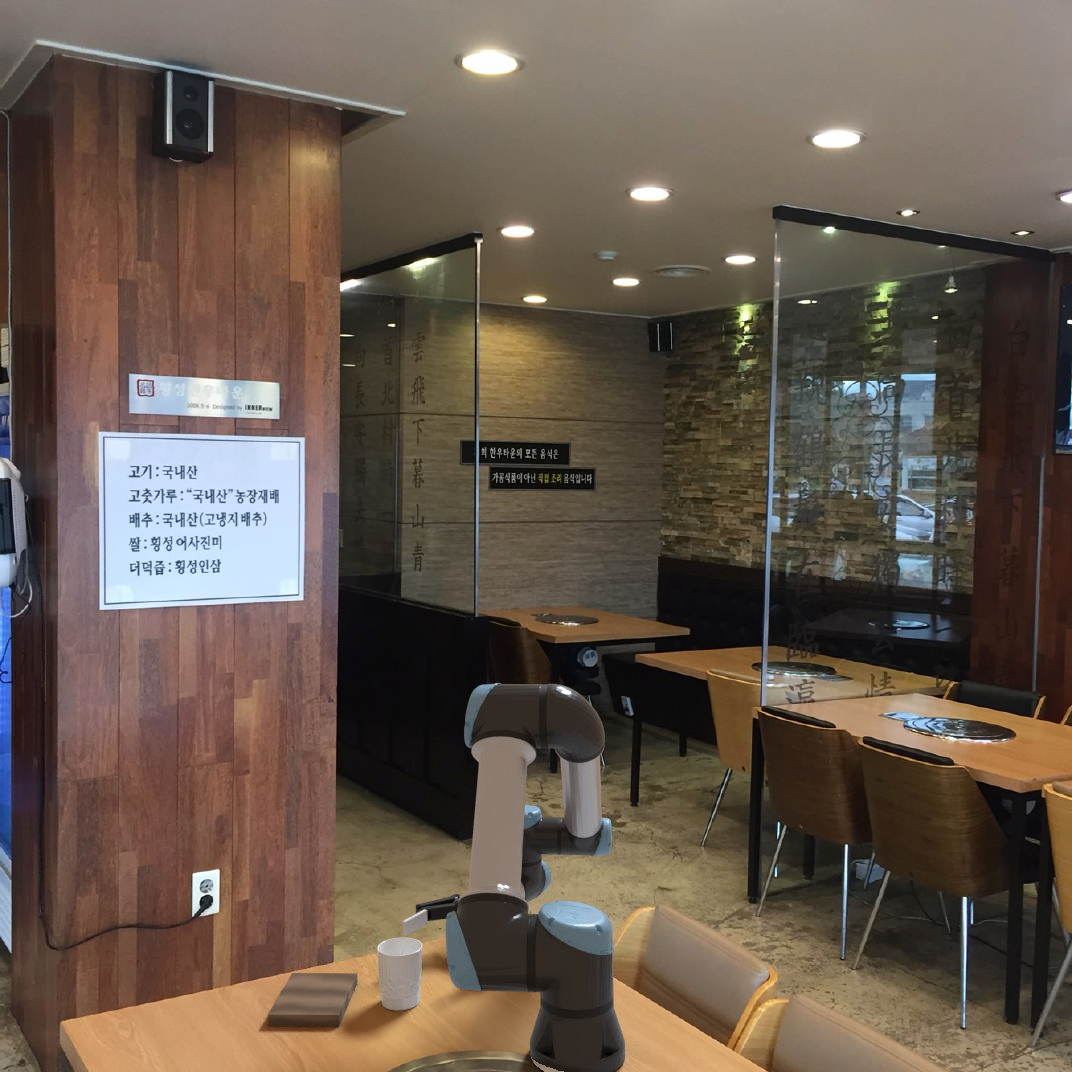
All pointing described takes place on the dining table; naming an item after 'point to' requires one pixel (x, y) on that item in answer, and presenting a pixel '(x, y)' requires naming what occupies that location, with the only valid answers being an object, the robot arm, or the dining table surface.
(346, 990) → the walnut board
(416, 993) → the white cup
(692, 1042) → the dining table surface
